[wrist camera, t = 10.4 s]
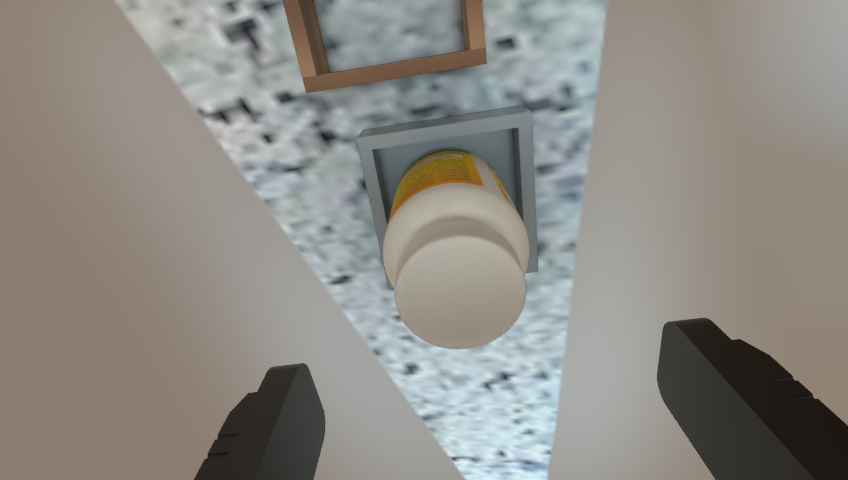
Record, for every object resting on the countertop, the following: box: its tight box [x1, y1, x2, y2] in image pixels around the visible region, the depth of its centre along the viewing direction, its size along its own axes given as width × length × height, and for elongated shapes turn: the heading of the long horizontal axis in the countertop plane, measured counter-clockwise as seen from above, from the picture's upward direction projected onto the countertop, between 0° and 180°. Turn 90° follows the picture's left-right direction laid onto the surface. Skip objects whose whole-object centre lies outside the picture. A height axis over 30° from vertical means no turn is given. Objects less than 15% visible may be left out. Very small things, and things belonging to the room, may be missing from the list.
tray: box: [356, 106, 538, 290], centre depth 21 cm, size 8×8×2 cm
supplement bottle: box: [383, 148, 529, 349], centre depth 17 cm, size 5×5×10 cm
